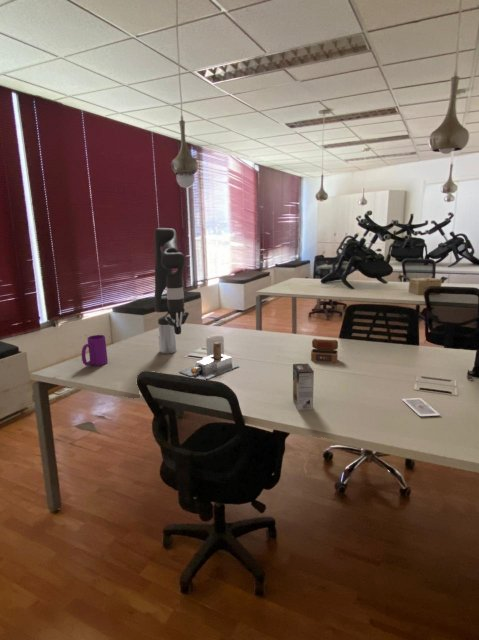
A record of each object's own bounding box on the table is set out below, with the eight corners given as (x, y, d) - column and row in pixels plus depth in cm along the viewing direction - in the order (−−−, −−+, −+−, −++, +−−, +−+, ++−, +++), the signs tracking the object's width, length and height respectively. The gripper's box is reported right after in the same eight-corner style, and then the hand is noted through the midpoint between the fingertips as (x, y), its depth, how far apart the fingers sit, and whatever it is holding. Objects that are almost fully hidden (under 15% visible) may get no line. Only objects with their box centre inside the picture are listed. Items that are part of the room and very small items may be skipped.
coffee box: (292, 400, 160) (292, 363, 157) (307, 399, 161) (308, 362, 157) (297, 410, 151) (297, 371, 148) (313, 409, 152) (314, 370, 148)
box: (293, 367, 199) (293, 345, 196) (301, 351, 225) (302, 331, 222) (350, 372, 191) (351, 349, 188) (352, 354, 217) (352, 334, 214)
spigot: (212, 365, 202) (211, 343, 199) (217, 363, 205) (216, 341, 202) (217, 367, 199) (217, 344, 197) (222, 365, 202) (222, 343, 200)
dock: (179, 372, 195) (178, 362, 194) (215, 359, 213) (214, 350, 212) (203, 381, 183) (202, 371, 182) (239, 366, 201) (238, 357, 200)
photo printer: (221, 353, 224) (220, 332, 222) (225, 354, 221) (224, 334, 218) (205, 356, 219) (204, 335, 216) (209, 358, 215) (208, 337, 213)
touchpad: (419, 418, 143) (420, 413, 143) (401, 401, 158) (401, 396, 157) (440, 417, 144) (441, 412, 143) (420, 400, 158) (420, 395, 158)
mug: (111, 361, 215) (108, 335, 212) (90, 371, 201) (87, 343, 198) (98, 359, 219) (95, 334, 215) (77, 369, 205) (74, 341, 201)
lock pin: (191, 372, 191) (191, 367, 190) (211, 365, 200) (210, 360, 200) (195, 374, 189) (194, 368, 189) (214, 366, 199) (214, 361, 198)
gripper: (181, 294, 183) (184, 329, 187) (158, 298, 174) (161, 335, 178) (192, 295, 178) (194, 332, 182) (168, 300, 169) (171, 338, 173)
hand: (177, 334), depth 180 cm, fingers closed
